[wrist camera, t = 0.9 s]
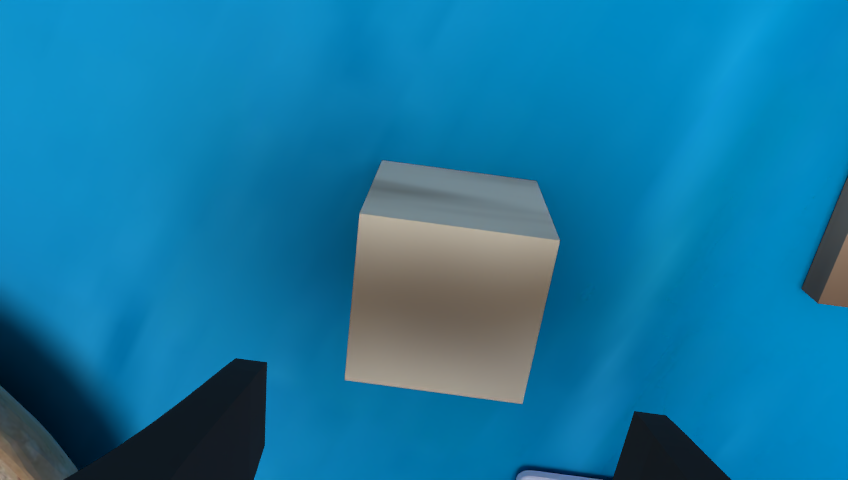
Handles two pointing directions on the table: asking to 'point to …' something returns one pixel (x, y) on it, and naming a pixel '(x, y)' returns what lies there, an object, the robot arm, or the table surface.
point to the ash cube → (449, 282)
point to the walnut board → (831, 259)
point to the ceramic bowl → (28, 446)
